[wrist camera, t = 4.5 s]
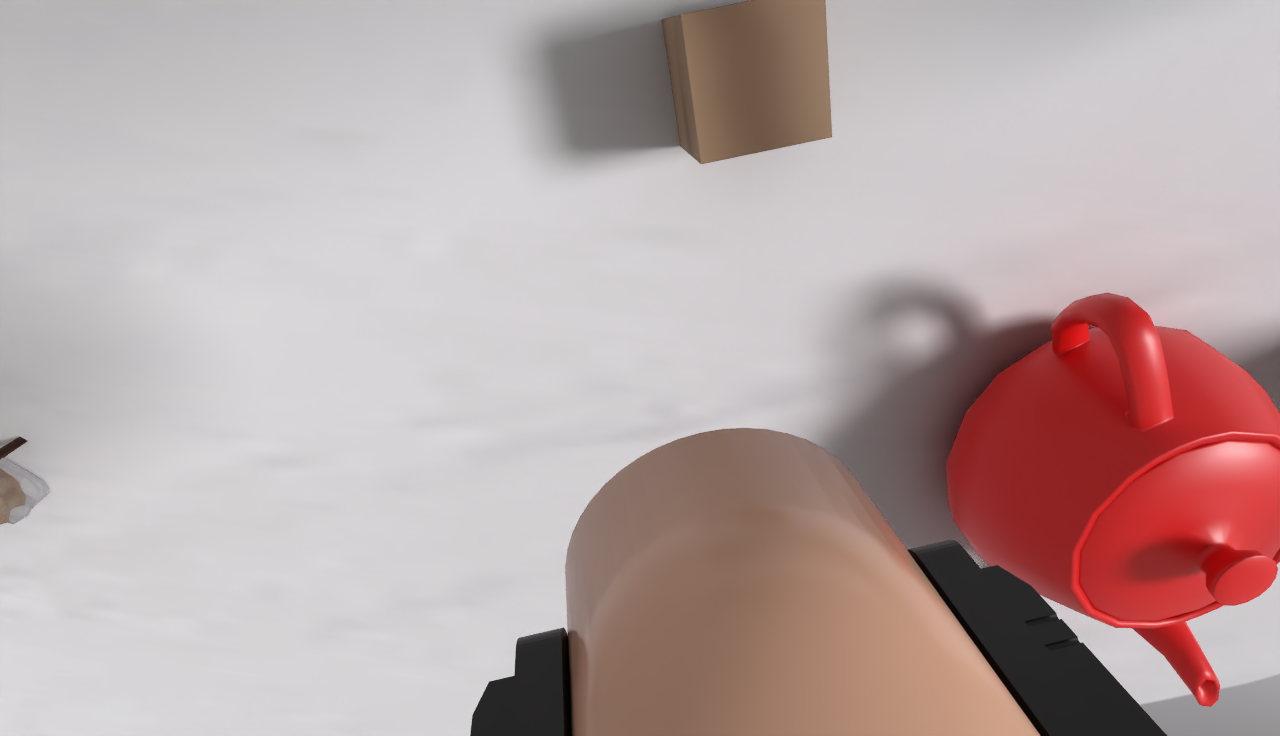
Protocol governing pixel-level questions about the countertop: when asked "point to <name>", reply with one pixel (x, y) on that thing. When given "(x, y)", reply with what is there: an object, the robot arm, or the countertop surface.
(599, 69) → the countertop surface
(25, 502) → the toy
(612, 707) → the dome-topped cylinder
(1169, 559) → the teapot
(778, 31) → the block
